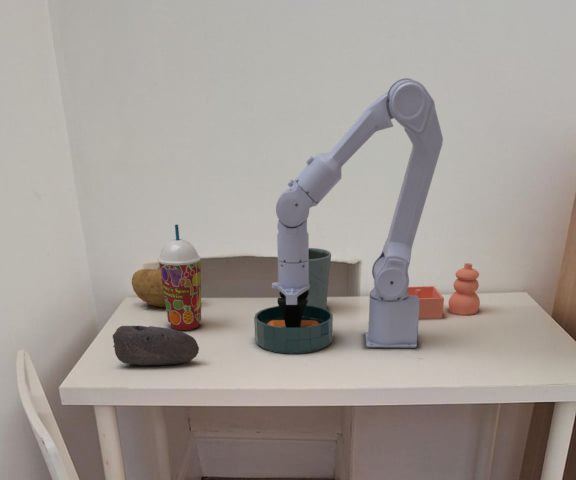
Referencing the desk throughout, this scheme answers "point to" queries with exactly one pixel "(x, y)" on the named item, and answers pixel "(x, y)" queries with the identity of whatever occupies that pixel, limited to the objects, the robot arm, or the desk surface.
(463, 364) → the desk surface
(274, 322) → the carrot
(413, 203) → the robot arm
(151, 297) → the potato
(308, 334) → the teal shallow bowl
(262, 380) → the desk surface
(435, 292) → the bottle and box
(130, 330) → the perforated stone tool
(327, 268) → the green cylindrical vase
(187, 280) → the smoothie
